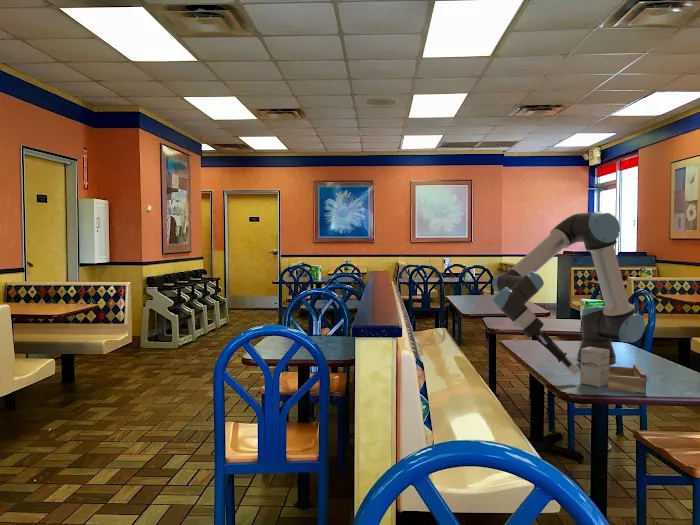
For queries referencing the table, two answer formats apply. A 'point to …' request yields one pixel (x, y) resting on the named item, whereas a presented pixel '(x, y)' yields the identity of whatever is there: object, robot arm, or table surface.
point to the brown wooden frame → (627, 379)
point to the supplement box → (594, 366)
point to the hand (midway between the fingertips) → (576, 371)
